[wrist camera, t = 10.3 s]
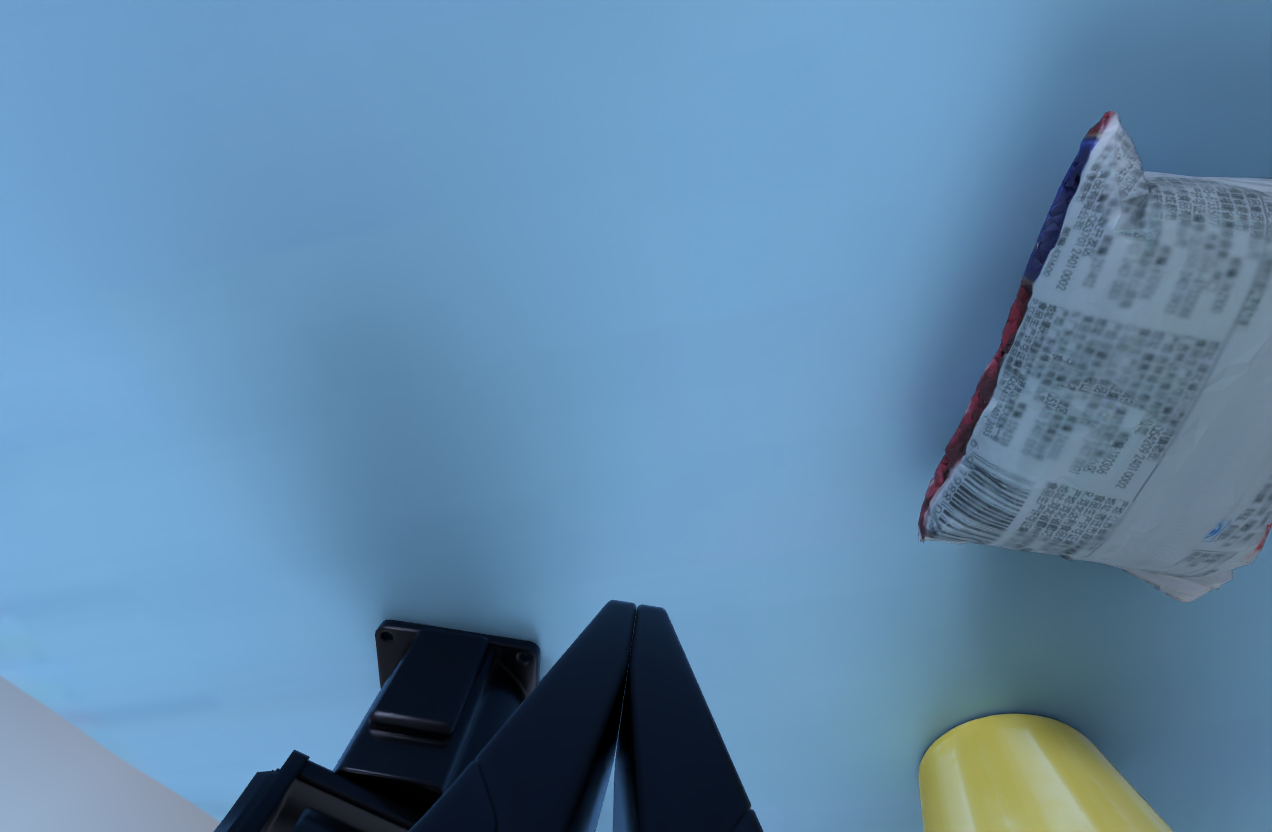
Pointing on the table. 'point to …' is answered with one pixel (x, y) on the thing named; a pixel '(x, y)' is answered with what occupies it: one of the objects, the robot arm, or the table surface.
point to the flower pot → (1026, 781)
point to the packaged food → (1127, 382)
